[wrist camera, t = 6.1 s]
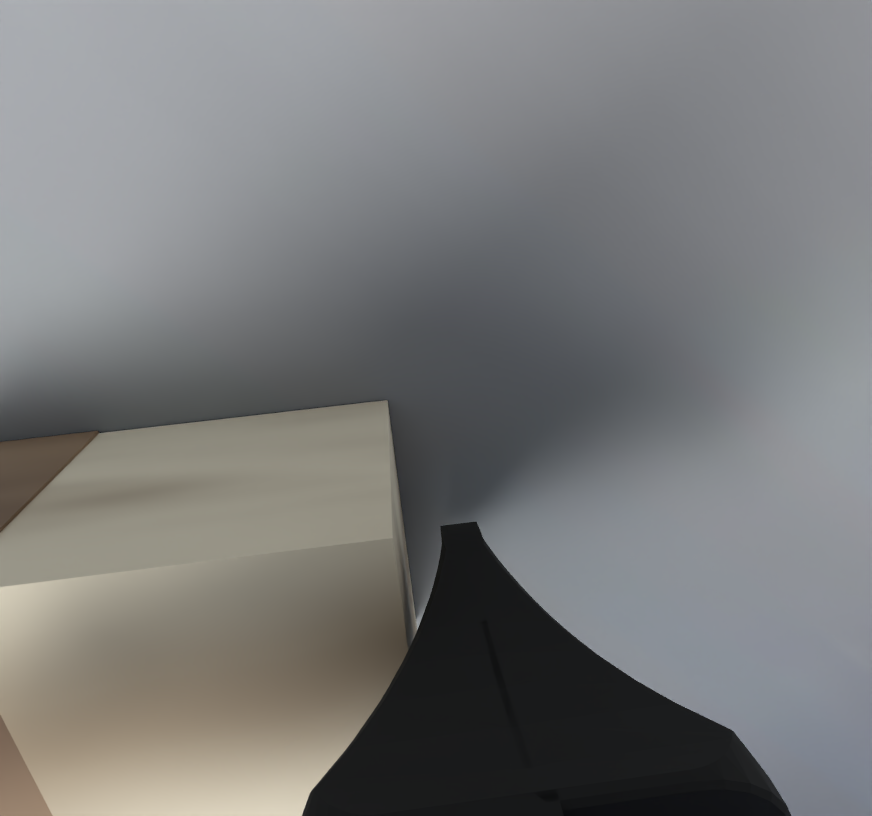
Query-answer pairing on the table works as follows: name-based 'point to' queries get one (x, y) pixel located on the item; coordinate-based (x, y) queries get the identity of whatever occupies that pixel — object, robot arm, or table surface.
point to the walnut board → (3, 500)
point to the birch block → (205, 612)
